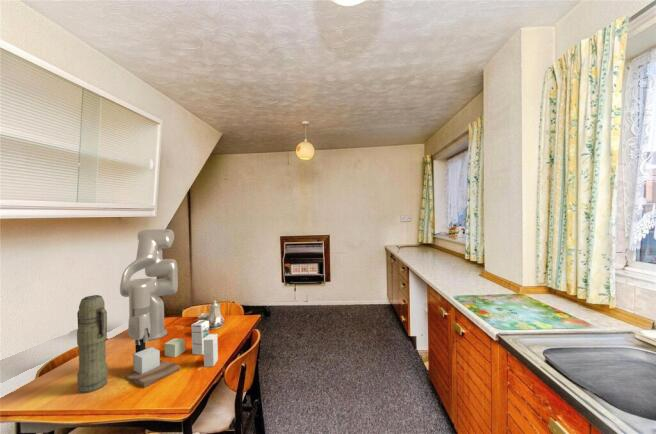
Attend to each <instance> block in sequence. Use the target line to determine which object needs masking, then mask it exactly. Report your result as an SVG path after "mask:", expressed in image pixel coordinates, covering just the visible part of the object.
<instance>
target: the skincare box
mask: <svg viewBox="0 0 656 434" xmlns="http://www.w3.org/2000/svg"><path fill="white" fill-rule="evenodd" d="M218 352H219V346H218V334H217V333H209V334H208V335H207V337H206V338H205V339H204V354H203V363H204V365H203V366H204V368H210V367H211V368H212V367H215V365H216V364H217V361H218V360H219V353H218Z"/></svg>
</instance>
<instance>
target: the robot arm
mask: <svg viewBox="0 0 656 434" xmlns="http://www.w3.org/2000/svg"><path fill="white" fill-rule="evenodd" d="M137 240H138V243H137V244H138V245H137V250H136V258H135V260H134V261H132V262H131V263H130V264H129V265H128V266H127V267H126V268H125V269H124V270H123V272H122V274H121V278H120V284H119V293H120V296H122V297H125V298H127V297H128V299H129V300H128V309H129V311H128V313H129V317H128V324H127V325H128V329H127V331H128V332H127V333H128V334H127V336H128V337H129V338H132V339H134V344H135V353H136V352H139V351H142V350H144V349H146V343H147V342H148V341H152V340H157V339H161V338H164V337H165V336H166V335H168V330H167V329H165V305H164V304H165V303H164V301H163V299H162V298H161V297H163V296H170V295H174V294H176V293H177V292H178V289H179V288H178V287H179V278H178V277H179V274H178V272H179V269H178V263H177V260H176V259H174V258H166V259H163V249H170V248H171V247H172V246H173V243H174V241H175V232H174V231H173V230H172V229H170V228H165V229H164V228H162V229H157V228H156V229H144V230H143V229H142V230H140V231H138V232H137ZM141 270H144V273H145V276H146V278H135V279H134V278H133V279H132V278H131V277H133V275H135V274H137V272H140V271H141ZM159 277H164V278H159ZM166 277H167V278H166ZM155 278H156V279H155Z"/></svg>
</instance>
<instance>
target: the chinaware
mask: <svg viewBox="0 0 656 434" xmlns="http://www.w3.org/2000/svg"><path fill="white" fill-rule="evenodd" d="M196 318H198V321H199V320H207V321H209V330H210V329H211V330H212V329H214V330H218V328H219V329H221V328H223V325H224V323H225V321H226V320H225V318H224V317H223V315H222V314H221V303H220V302H217V301H216V300H215V299H214V300H213V301H212V303H211V304H209V312H205V313H200V314H199V315H197V316H196ZM211 330H210V331H211Z"/></svg>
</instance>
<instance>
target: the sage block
mask: <svg viewBox="0 0 656 434" xmlns="http://www.w3.org/2000/svg"><path fill="white" fill-rule="evenodd" d="M185 342H186V340H185V339H184V338H176V337H175V338H173V339H171V340H168V341H167V342H165V343H164V357H170V358H176V357H178V356H180V355H181V354H183V353H184V352H185V351H186V348H185V347H186V346H185V345H186V344H185Z"/></svg>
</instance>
